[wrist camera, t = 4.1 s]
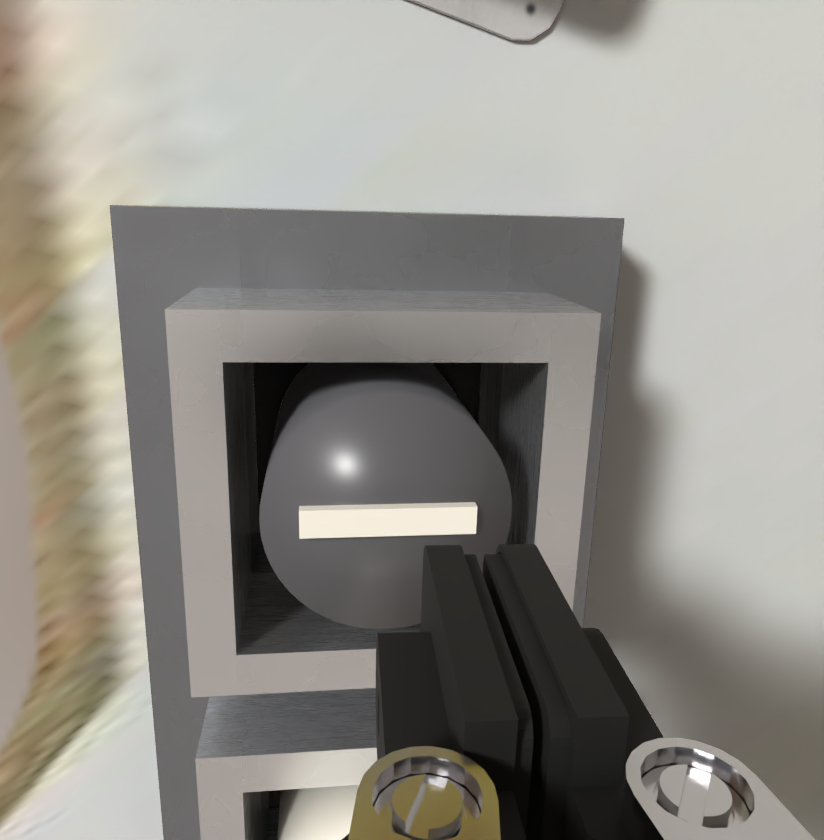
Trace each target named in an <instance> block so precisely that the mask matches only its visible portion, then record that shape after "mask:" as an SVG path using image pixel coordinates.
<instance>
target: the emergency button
mask: <svg viewBox="0 0 824 840" xmlns="http://www.w3.org/2000/svg"><path fill="white" fill-rule="evenodd" d="M409 1H411V2H414V3H416V4H419V5H422V6H424V7H427V8H429V9H432V10H434V11H437V12H439V13H442V14H445V15H447V16H450V17H452V18H455V19H457V20H460V21H462V22H465V23H468V24H470V25H473V26H475V27H478V28H480V29H483V30H486V31H488V32H491V33H493V34H496V35H498V36H501V37H503V38H506V39H509V40H512V41H531V40H532V39H534V38H535V37H537V36H539V35H540V34H542V33H543V32H545V31H546V30H548V29H549V28H550V26H551V24H552V23H553V21H554V19H555V17H556V16H557V14H558V12H559V10H560V9H561V7H562V4H563V1H564V0H409Z"/></svg>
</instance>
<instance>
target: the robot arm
mask: <svg viewBox="0 0 824 840" xmlns="http://www.w3.org/2000/svg"><path fill="white" fill-rule="evenodd" d="M376 744H377V761H375V763H374V764H373V765H372V766H371V767H370V768H369V769H368V770H367V771H366V772H365V774H364V775H363V777H362V780H361V782H360V785H359V787H358V790H357V794H356V800H355V805H354V811H353V816H352V821H351V827H350V832H349V834H348V835H346V836H345V837H344V838H343V839H342V840H815V839H814V838H813V837H812V836H811V834H810V833H809V832H808V831H807V830H806V829H805V828H804V827H803V826H802V825H801V823H800V822H799V821H798V820H797V819H796V818H795V817H794V816H793V815H792V814H791V813H790V811H789V810H788V809H787V808H786V807H785V806H784V805H783V804H782V803H781V802H780V801H779V799H778V798H777V797H776V796H775V795H774V794H773V793H772V792H771V791H770V790H769V789H768V787H767V786H766V785H765V784H764V783H763V782H762V781H761V780H760V779H759V778H758V776H757V775H756V774H755V773H753V772H752V771H751V770H750V769H749V768H748V767H747V766H745V765H744V764H743V763H742V762H741V761H740V760H738V759H736V758H735V757H733V756H731V755H730V754H728V753H726V752H724V751H723V750H721V749H719V748H716V747H713V746H711V745H708V744H705V743H703V742H700V741H695V740H690V739H684V738H678V737H677V738H664V737H663V736H662V734H661V732H660V731H659V729H658V727H657V726H656V724H655V722H654V720H653V719H652V717H651V715H650V714H649V712H648V710H647V709H646V707H645V705H644V703H643V702H642V700H641V698H640V697H639V695H638V693H637V692H636V690H635V688H634V687H633V685H632V683H631V681H630V680H629V678H628V676H627V675H626V673H625V671H624V670H623V668H622V666H621V664H620V663H619V661H618V659H617V658H616V656H615V654H614V653H613V651H612V649H611V647H610V646H609V644H608V642H607V641H606V639H605V637H604V636H603V634H602V633H601V632H600V631H599V629H596V628H581V626H580V624H579V622H578V621H577V619H576V617H575V615H574V613H573V612H572V610H571V608H570V606H569V604H568V602H567V601H566V599H565V597H564V595H563V593H562V591H561V590H560V588H559V586H558V584H557V582H556V581H555V579H554V577H553V575H552V573H551V571H550V570H549V568H548V566H547V564H546V562H545V560H544V559H543V557H542V555H541V553H540V551H539V549H538V548H537V546H536V545H535V544H500V545H498V546H497V549H496V554H485V556H484V560H483V573H482V571H481V568H480V566H479V563H478V560H477V557H476V555H475V554H464V552H463V549H462V546H461V545H425V547H424V553H423V576H422V607H421V632H391V633H377V637H376Z"/></svg>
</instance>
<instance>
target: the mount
mask: <svg viewBox="0 0 824 840" xmlns="http://www.w3.org/2000/svg"><path fill="white" fill-rule="evenodd" d="M110 214H111V226H112V238H113V249H114V261H115V273H116V285H117V296H118V308H119V320H120V331H121V343H122V355H123V367H124V378H125V390H126V402H127V414H128V425H129V437H130V449H131V460H132V472H133V484H134V496H135V507H136V519H137V531H138V543H139V554H140V566H141V578H142V589H143V601H144V613H145V625H146V636H147V648H148V660H149V671H150V683H151V695H152V707H153V718H154V730H155V742H156V754H157V765H158V777H159V789H160V800H161V812H162V824H163V836H164V840H277V836H278V822H279V808H269V791H274V790H289V789H303V788H318V787H333V786H347V785H360V782H361V780H362V777H363V775H364V774H365V772H366V771H367V770H368V769H369V768H370V767H371V766H372V765H373V764H374V763H375V761H377V744H376V637H377V633H391V632H421V623H420V624H417V625H412V626H407V627H403V628H394V629H366V628H359V627H353V626H349V625H345V624H341V623H338V622H336V621H333V620H331V619H328V618H326V617H324V616H322V615H320V614H318V613H316V612H314V611H313V610H311V609H310V608H308V607H307V606H305V605H304V604H303V603H301V602H300V601H299V600H298V599H297V598H296V597H294V596H293V595H292V594H291V593H290V592H289V591H288V590H287V588H286V587H285V586H284V585H283V584H282V582H281V581H280V580H279V579H278V577H277V575H276V573H275V572H274V570H273V568H272V567H271V565H270V563H269V560H268V558H267V555H266V553H265V550H264V546H263V543H262V539H261V533H260V530H259V502H258V473H257V445H256V416H255V388H254V362H399V363H481V378H480V397H479V416H478V426H479V427H480V428H481V430H482V431H483V433H484V434H485V435H486V437H487V438H488V440H489V441H490V442H491V444H492V445H493V447H494V449H495V450H496V452H497V453H498V455H499V457H500V459H501V461H502V463H503V466H504V468H505V470H506V473H507V477H508V480H509V484H510V490H511V497H512V517H511V525H510V531H509V534H508V538H507V541H506V544H535V545H536V546H537V548H538V549H539V551H540V553H541V555H542V557H543V559H544V560H545V562H546V564H547V566H548V568H549V570H550V571H551V573H552V575H553V577H554V579H555V581H556V582H557V584H558V586H559V588H560V590H561V591H562V593H563V595H564V597H565V599H566V601H567V602H568V604H569V606H570V608H571V610H572V612H573V613H574V615H575V617H576V619H577V621H578V622H579V624H580V626H581V628H583V620H584V610H585V600H586V591H587V581H588V571H589V561H590V551H591V542H592V532H593V522H594V512H595V502H596V493H597V483H598V473H599V463H600V453H601V443H602V434H603V424H604V414H605V404H606V394H607V385H608V375H609V365H610V355H611V345H612V336H613V326H614V316H615V306H616V296H617V287H618V277H619V267H620V257H621V247H622V238H623V228H624V218H601V217H569V216H531V215H492V214H453V213H414V212H375V211H336V210H297V209H258V208H220V207H181V206H142V205H110Z"/></svg>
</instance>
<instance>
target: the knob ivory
mask: <svg viewBox="0 0 824 840" xmlns="http://www.w3.org/2000/svg"><path fill="white" fill-rule="evenodd" d="M358 787H359V785H347V786H333V787H318V788H303V789H289V790H281V793H280V807H279V822H278V836H277V840H342V839H343V838H344V837H345V836H346V835H348V834H349V832H350V827H351V821H352V816H353V811H354V805H355V800H356V794H357V790H358Z"/></svg>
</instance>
